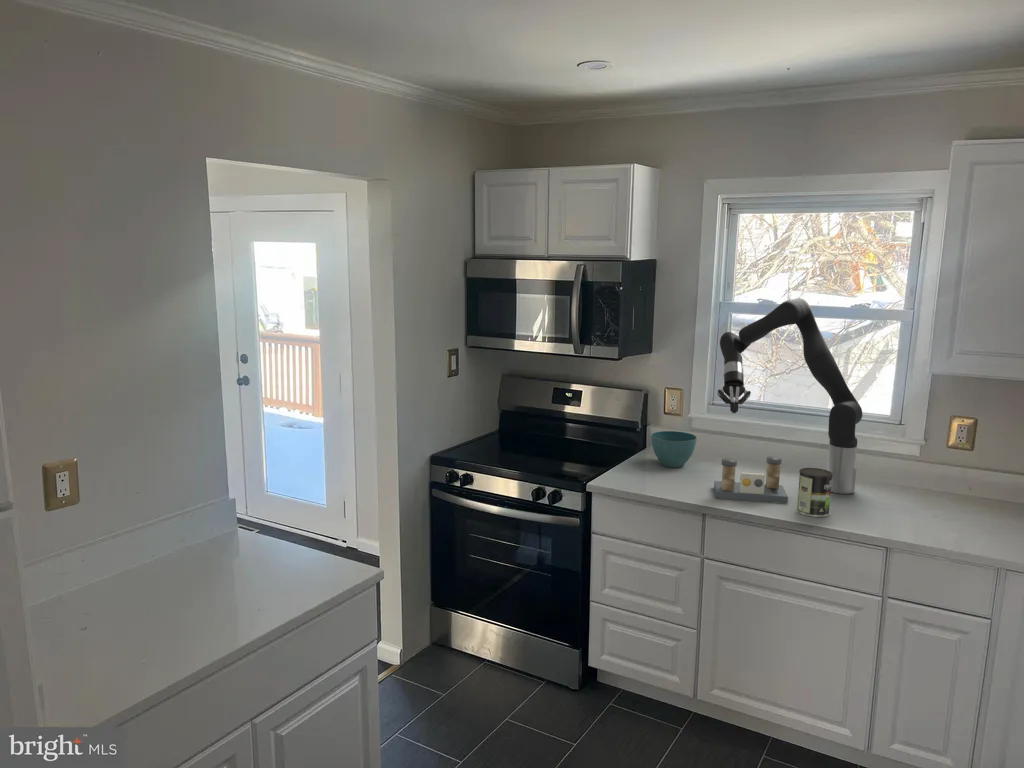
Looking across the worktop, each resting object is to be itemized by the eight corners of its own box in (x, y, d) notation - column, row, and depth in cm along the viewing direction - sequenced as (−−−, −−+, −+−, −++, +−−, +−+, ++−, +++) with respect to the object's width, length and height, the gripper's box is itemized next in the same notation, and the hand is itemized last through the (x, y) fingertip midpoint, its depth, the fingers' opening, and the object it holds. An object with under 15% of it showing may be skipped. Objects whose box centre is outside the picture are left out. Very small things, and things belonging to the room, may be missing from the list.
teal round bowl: (641, 461, 307) (642, 433, 305) (676, 456, 315) (678, 429, 312) (667, 473, 291) (669, 443, 289) (704, 468, 298) (706, 438, 296)
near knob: (778, 485, 268) (780, 456, 266) (780, 489, 263) (782, 460, 261) (763, 483, 269) (765, 455, 268) (765, 488, 264) (767, 459, 262)
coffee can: (832, 511, 249) (836, 471, 247) (824, 519, 241) (828, 478, 239) (801, 504, 255) (804, 465, 253) (792, 512, 247) (795, 472, 245)
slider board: (781, 492, 269) (783, 466, 267) (787, 503, 256) (789, 477, 255) (714, 487, 274) (715, 462, 272) (716, 498, 261) (717, 472, 260)
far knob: (734, 487, 265) (736, 458, 263) (735, 491, 260) (737, 462, 258) (719, 486, 266) (721, 457, 264) (720, 490, 261) (722, 461, 259)
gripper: (717, 369, 290) (717, 405, 280) (752, 370, 287) (753, 407, 278) (715, 380, 296) (715, 416, 286) (749, 381, 293) (751, 418, 284)
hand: (734, 412), depth 282 cm, fingers closed
